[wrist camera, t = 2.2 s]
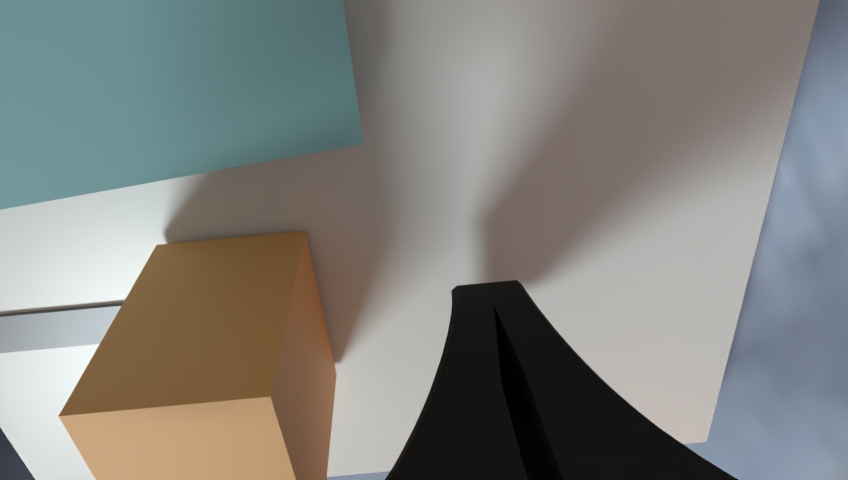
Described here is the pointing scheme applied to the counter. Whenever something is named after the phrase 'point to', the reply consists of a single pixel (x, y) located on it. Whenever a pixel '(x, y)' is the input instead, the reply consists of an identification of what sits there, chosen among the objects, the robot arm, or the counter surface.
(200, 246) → the block
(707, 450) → the counter surface
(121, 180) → the teal flat block
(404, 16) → the panel
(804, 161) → the counter surface
